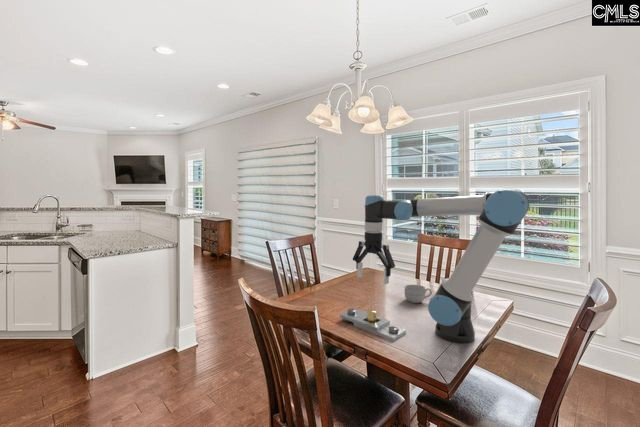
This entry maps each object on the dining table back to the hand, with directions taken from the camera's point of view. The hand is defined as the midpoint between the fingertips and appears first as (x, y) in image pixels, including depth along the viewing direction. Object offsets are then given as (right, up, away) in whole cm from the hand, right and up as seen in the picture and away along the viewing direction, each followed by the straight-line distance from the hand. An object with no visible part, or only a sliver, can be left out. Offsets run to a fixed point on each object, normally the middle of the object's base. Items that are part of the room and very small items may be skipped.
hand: (372, 280), depth 140 cm
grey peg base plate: (0, -21, +2) cm, 21 cm away
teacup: (+29, -18, +32) cm, 47 cm away
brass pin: (0, -21, +2) cm, 21 cm away
